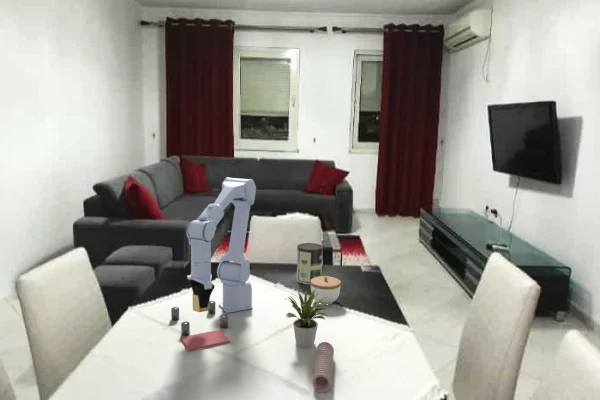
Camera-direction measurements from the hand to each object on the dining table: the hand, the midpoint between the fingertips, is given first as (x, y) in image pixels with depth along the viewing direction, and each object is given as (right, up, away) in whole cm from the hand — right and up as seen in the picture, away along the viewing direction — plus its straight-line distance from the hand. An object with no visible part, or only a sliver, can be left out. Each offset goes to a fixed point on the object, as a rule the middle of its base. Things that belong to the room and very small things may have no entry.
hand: (201, 304), depth 142 cm
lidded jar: (+38, -5, +27) cm, 47 cm away
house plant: (+30, -11, -6) cm, 32 cm away
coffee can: (+33, -1, +49) cm, 59 cm away
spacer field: (-2, -7, +7) cm, 10 cm away
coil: (+36, -14, -20) cm, 43 cm away
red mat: (+2, -10, -5) cm, 11 cm away
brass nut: (0, -1, 0) cm, 1 cm away
